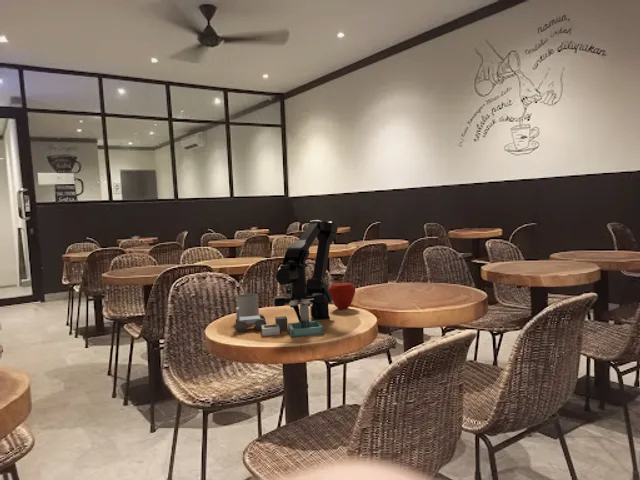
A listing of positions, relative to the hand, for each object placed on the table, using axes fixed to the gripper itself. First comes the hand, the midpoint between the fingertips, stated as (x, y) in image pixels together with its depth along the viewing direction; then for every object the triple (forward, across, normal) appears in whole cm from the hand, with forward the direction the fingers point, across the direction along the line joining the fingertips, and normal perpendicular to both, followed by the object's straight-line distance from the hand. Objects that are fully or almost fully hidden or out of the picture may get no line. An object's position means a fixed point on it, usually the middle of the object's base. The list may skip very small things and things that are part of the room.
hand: (300, 322), depth 178 cm
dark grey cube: (+2, +7, 0) cm, 7 cm away
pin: (+1, 0, +9) cm, 9 cm away
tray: (+1, 0, +9) cm, 9 cm away
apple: (+2, -21, -25) cm, 33 cm away
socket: (+1, +12, +6) cm, 13 cm away
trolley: (+1, +18, -4) cm, 18 cm away
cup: (+2, +19, -19) cm, 26 cm away
